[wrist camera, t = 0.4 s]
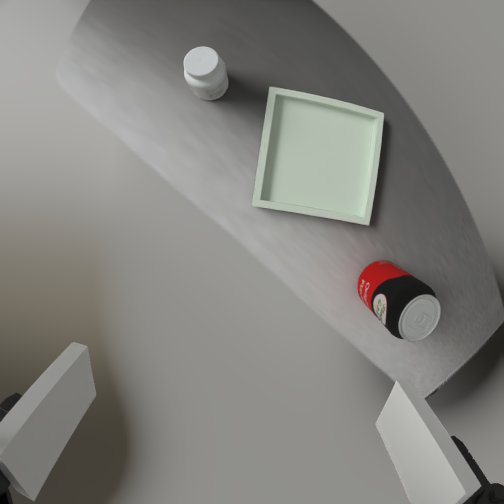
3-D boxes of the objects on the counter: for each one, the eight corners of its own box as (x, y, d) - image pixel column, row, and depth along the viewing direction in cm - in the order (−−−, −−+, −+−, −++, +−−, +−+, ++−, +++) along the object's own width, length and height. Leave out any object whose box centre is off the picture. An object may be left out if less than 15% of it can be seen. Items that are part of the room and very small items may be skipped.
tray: (268, 91, 31) (269, 86, 30) (378, 116, 32) (384, 113, 30) (251, 204, 34) (251, 205, 33) (363, 223, 35) (368, 225, 33)
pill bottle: (234, 74, 31) (230, 48, 23) (220, 105, 32) (213, 84, 24) (200, 65, 30) (189, 38, 23) (186, 95, 31) (171, 74, 24)
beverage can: (374, 249, 36) (422, 277, 24) (404, 275, 37) (454, 308, 25) (345, 288, 37) (382, 330, 25) (377, 311, 38) (417, 355, 26)
